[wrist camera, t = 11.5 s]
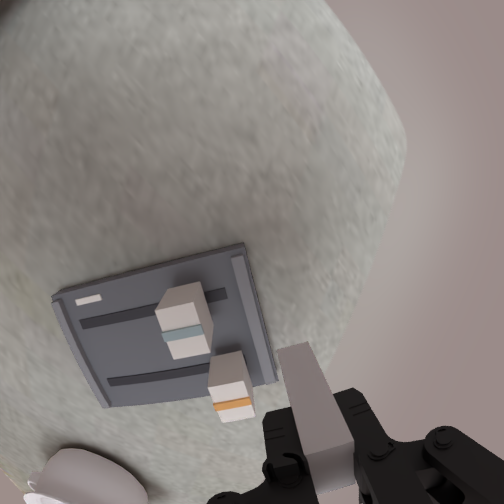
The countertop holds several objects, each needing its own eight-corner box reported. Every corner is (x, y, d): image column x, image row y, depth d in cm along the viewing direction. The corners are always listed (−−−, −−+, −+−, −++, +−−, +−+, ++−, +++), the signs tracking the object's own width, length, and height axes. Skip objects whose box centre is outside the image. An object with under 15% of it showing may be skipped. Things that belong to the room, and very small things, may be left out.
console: (109, 397, 30) (102, 411, 28) (60, 290, 27) (47, 299, 25) (276, 370, 31) (279, 385, 28) (243, 242, 27) (244, 248, 25)
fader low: (223, 383, 28) (221, 424, 22) (210, 350, 27) (206, 389, 21) (252, 377, 28) (256, 418, 22) (241, 343, 27) (244, 382, 21)
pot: (167, 460, 33) (155, 530, 21) (168, 511, 36) (162, 564, 25) (31, 418, 31) (-3, 469, 19) (56, 478, 34) (35, 522, 22)
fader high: (183, 325, 26) (172, 361, 20) (169, 284, 25) (153, 312, 19) (215, 318, 26) (210, 354, 20) (202, 276, 25) (193, 303, 20)
